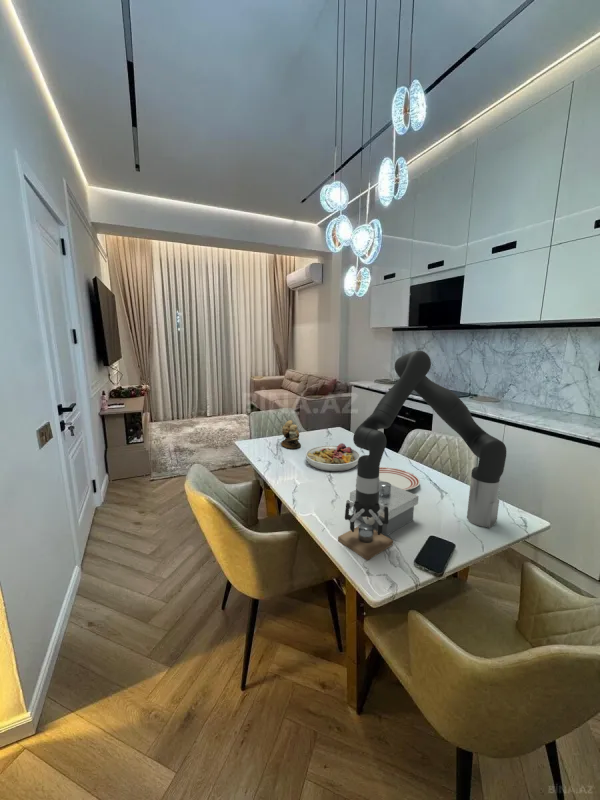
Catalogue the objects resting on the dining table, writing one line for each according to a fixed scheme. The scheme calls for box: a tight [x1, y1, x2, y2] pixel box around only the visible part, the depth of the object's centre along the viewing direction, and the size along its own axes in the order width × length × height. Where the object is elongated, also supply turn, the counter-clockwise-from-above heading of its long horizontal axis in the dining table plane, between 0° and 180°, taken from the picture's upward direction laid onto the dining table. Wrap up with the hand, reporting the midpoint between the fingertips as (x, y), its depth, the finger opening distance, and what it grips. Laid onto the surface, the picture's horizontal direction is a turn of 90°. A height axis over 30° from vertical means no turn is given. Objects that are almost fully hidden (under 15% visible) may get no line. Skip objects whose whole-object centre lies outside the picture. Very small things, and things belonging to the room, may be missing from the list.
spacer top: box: [358, 523, 375, 543], centre depth 111 cm, size 5×5×4 cm
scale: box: [352, 506, 415, 536], centre depth 126 cm, size 16×17×8 cm
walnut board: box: [337, 525, 394, 561], centre depth 112 cm, size 13×13×2 cm
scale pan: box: [349, 480, 419, 520], centre depth 126 cm, size 18×18×3 cm
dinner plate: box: [379, 466, 420, 491], centre depth 158 cm, size 27×27×3 cm
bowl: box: [305, 442, 361, 472], centre depth 183 cm, size 30×30×8 cm
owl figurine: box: [280, 419, 302, 450], centre depth 210 cm, size 18×12×17 cm, turn 27°
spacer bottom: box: [379, 481, 391, 497], centre depth 125 cm, size 5×5×4 cm
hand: (365, 532), depth 111 cm, fingers open, 8 cm apart
